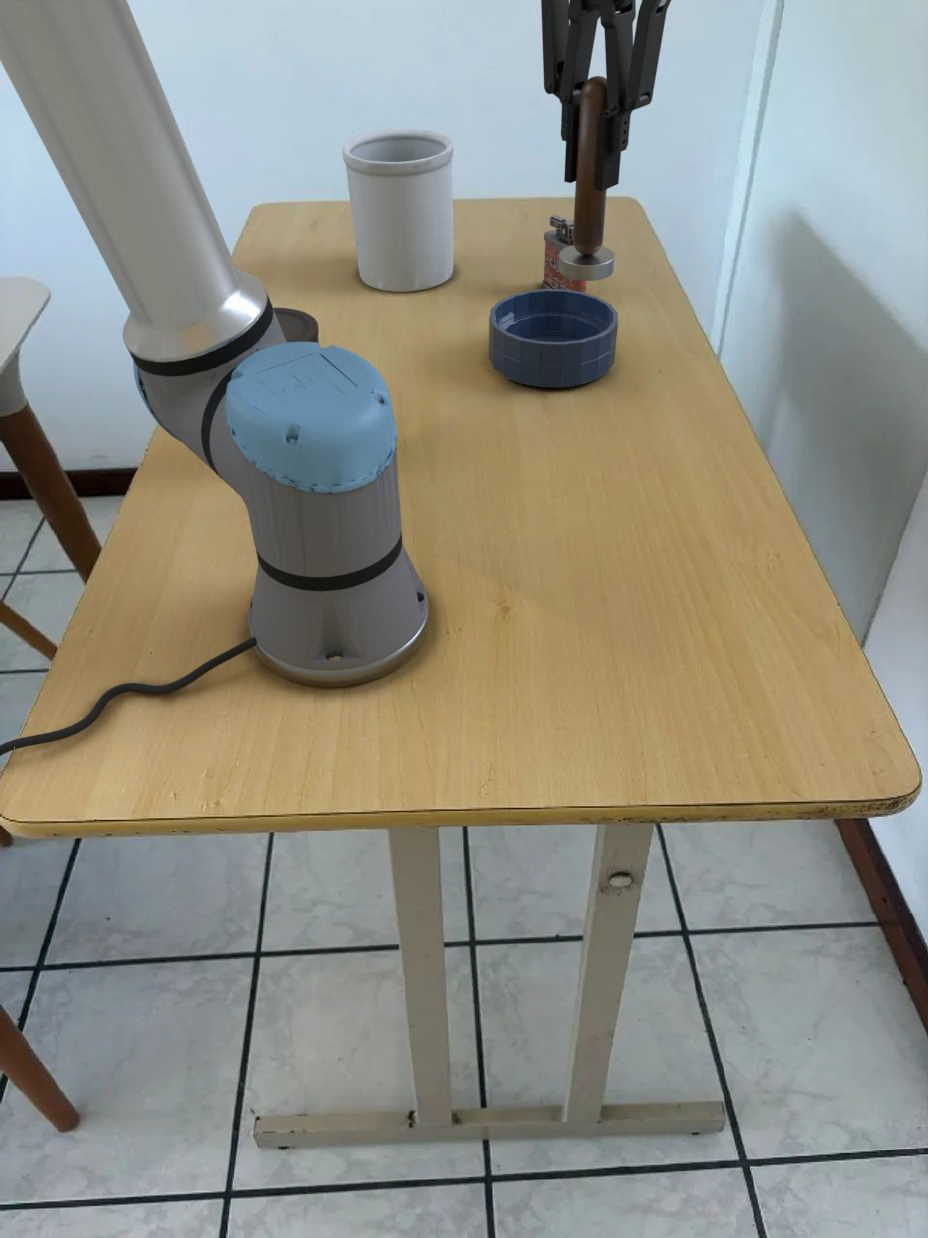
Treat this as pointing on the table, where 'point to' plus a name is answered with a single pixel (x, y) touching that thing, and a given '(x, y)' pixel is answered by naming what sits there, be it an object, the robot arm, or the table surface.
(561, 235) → the lighter
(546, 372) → the bowl
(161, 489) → the table surface
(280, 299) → the table surface
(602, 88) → the brown stamp
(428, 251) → the utensil holder
